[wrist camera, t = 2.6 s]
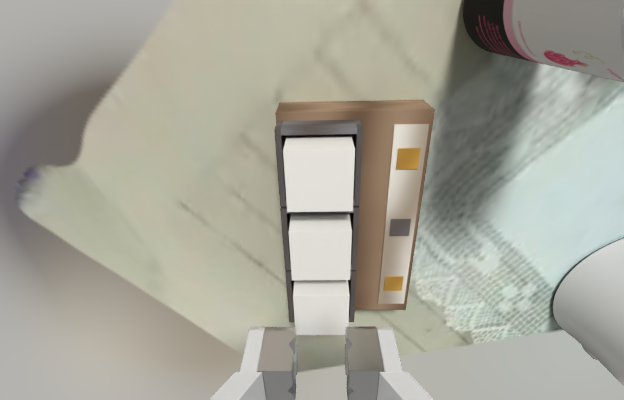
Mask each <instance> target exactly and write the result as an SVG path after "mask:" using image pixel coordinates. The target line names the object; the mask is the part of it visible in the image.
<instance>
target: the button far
mask: <svg viewBox="0 0 624 400" xmlns="http://www.w3.org/2000/svg"><path fill="white" fill-rule="evenodd" d="M349 297H350V295H349V286H348V280H294V290H293V304H294V319H295V328H296V335H345V329H346V327H348V323H349Z"/></svg>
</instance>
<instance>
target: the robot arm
mask: <svg viewBox="0 0 624 400" xmlns="http://www.w3.org/2000/svg"><path fill="white" fill-rule="evenodd" d="M553 314H554V317H555V320H556V322H557V323H558V325H559V326H560V327H561V328H562V329H563V330H564V331H566V332H567V333H568V334H570V335H571V336H572V337H574V338H575V339H576V340H577V341H578V342H579V343H581V344H582V346H583V348H584V350H585V351H586V352H587V353H588V354H589V355H590V356H591V357H592V358H593V359H597V360H599V361H600V362H601V363H602V364H603V365H604V366H605V367H606V368H607V369H608V370H609V371H610V372H611V373H612V374H613V376H614V377H615V378H616V379H617V380H619V382H621V384H622V385H623V386H624V238H623V239H621V240H618V241H616V242H614V243H612V244H609V245H607V246H605V247H603V248H601V249H600V250H598V251H596V252H594V253H593V254H591V255H590V256H588V257H587V258H586V259H584V260H583V261H582V262H580V263H579V264H578V265H577V266H576V267H575V268H574V269H573V270H572V271H571V272H570V273H569V274H568V275H567V276H566V277H565V279H564V280H563V281H562V283H561V284H560V286H559V288H558V290H557V292H556V294H555V297H554V301H553ZM345 339H346V344H345V368H346V375H347V396H348V400H434V399H433V398H432V397H431V396H430V395H429V394H428V393H427V392H426V391H425V390H424V389H423V388H422V386H420V384H419V383H418V382H417V381H416V380H415V379H414V378H413V377H412V376H411V375H410V374H409V373H408V372H403V369H402V365H401V361H400V357H399V353H398V348H397V344H396V340H395V336H394V332H393V329H392V327H346V329H345ZM296 375H297V344H296V328H286V327H250V329H249V331H248V335H247V340H246V344H245V349H244V353H243V358H242V362H241V367H240V372H234V373H233V375H232V376H231V377H230V378H229V379H228V380H227V381H226V382H225V383H224V384H223V385H222V386H221V387H220V388H219V390H218V391H217V392H216V393H215V394H214V395H213V396H212V397H211V398H210V399H209V400H295V395H296V381H295V376H296Z"/></svg>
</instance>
